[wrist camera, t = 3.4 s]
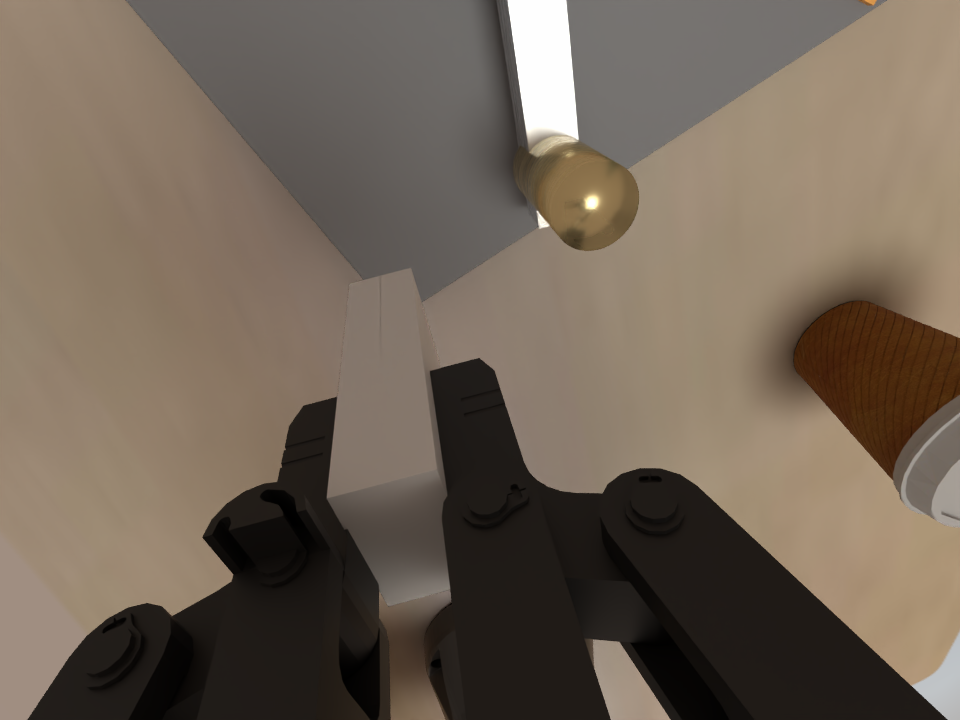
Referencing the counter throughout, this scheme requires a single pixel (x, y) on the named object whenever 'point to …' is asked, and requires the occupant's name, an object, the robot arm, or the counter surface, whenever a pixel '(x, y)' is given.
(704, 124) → the counter surface
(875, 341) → the disposable coffee cup
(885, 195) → the counter surface
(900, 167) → the counter surface
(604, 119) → the stand
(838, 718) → the robot arm
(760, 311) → the counter surface
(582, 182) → the metal ladle
